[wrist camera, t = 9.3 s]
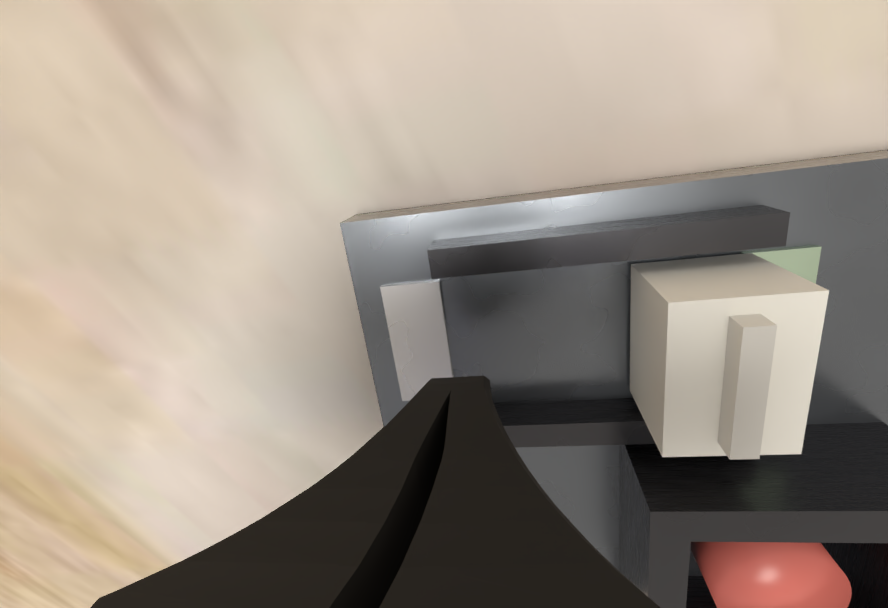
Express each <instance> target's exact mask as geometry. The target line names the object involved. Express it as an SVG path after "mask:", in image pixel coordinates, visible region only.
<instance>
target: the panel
mask: <svg viewBox="0 0 888 608" xmlns="http://www.w3.org/2000/svg"><path fill="white" fill-rule="evenodd" d="M340 226H341V231H342V235H343V240H344V244H345V249H346V254H347V258H348V263H349V268H350V272H351V277H352V281H353V286H354V291H355V295H356V300H357V305H358V309H359V314H360V318H361V323H362V328H363V332H364V337H365V342H366V346H367V351H368V355H369V360H370V365H371V369H372V374H373V379H374V383H375V388H376V392H377V397H378V402H379V406H380V411H381V416H382V420H383V425H384V427H385V426H386V425H387V424H388V423H389V422H390V421H391V420H392V419H393V418H394V417H395V416H396V415H397V414H398V413H399V412H400V410H401V409H402V408H403V407H404V406H405V405H406V404H407V403H408V402H409V401H410V400H411V399H412V398H413V397H414V396H415V395H416V394H417V393H418V392H419V391H420V389H421V388H422V387H423V386H424V385H425V384H426V383H427V382H428V381H429V380H430V379H431V378H448V377H468V376H485V377H487V378H488V379H489V380H490V386H491V396H492V400H493V403H494V406H495V409H496V411H497V414H498V416H499V418H500V420H501V422H502V424H503V427H504V429H505V431H506V433H507V435H508V436H509V438H510V440H511V442H512V444H513V445H514V447H515V449H516V450H517V452H518V454H519V455H520V457H521V459H522V460H523V462H524V463H525V465H526V466H527V468H528V469H529V471H530V472H531V474H532V475H533V476H534V478H535V479H536V480H537V482H538V483H539V485H540V486H541V487H542V489H543V490H544V491H545V492H546V494H547V495H548V496H549V497H550V499H551V500H552V501H553V502H554V504H555V505H556V506H557V507H558V508H559V510H560V511H561V512H562V513H563V514H564V515H565V516H566V517H567V518H568V519H569V520H570V522H571V523H572V524H573V525H574V526H575V527H576V528H577V529H578V530H579V531H580V532H581V534H582V535H583V536H584V537H585V538H586V539H587V540H588V541H589V542H590V543H591V544H592V545H593V546H594V547H595V548H596V549H597V550H598V551H599V552H600V553H601V554H602V555H603V556H604V557H605V558H606V559H607V560H608V561H609V562H610V563H611V564H612V565H613V566H614V567H615V568H616V569H617V570H618V571H619V572H621V573H622V574H623V575H624V576H625V577H626V578H627V579H628V580H630V581H631V582H632V583H633V584H634V585H635V586H636V587H637V588H639V589H640V590H641V591H642V592H643V593H644V594H645V595H646V596H648V597H649V598H650V599H651V600H652V601H654V602H655V603H656V604H657V605H658V606H659V607H661V608H717V607H716V604H715V602H714V600H713V598H712V596H711V593H710V591H709V589H708V587H707V584H706V582H705V580H704V578H703V575H702V573H701V571H700V569H699V567H698V564H697V562H696V560H695V558H694V555H693V553H692V551H691V549H690V546H691V542H791V543H821V544H822V545H823V546H824V548H825V549H826V550H827V551H828V553H829V554H830V555H831V557H832V558H833V559H834V561H835V562H836V563H837V564H838V566H839V567H840V568H841V570H842V571H843V572H844V573H845V575H846V576H847V578H848V580H849V582H850V585H851V591H852V595H851V600H850V603H849V605H848V607H847V608H888V150H883V151H875V152H867V153H859V154H850V155H842V156H834V157H826V158H817V159H809V160H801V161H793V162H785V163H776V164H768V165H760V166H752V167H743V168H735V169H727V170H719V171H711V172H702V173H694V174H686V175H678V176H669V177H661V178H653V179H645V180H636V181H628V182H620V183H612V184H604V185H595V186H587V187H579V188H571V189H562V190H554V191H546V192H538V193H530V194H521V195H513V196H505V197H497V198H488V199H480V200H472V201H464V202H455V203H447V204H439V205H431V206H423V207H414V208H406V209H398V210H390V211H381V212H373V213H365V214H357V215H354V216H352V217H350V218H349V219H347V220H345V221H343V222H341V223H340ZM746 253H752V254H754V255H756V256H759V257H761V258H763V259H765V260H767V261H769V262H771V263H773V264H775V265H777V266H779V267H781V268H784V269H786V270H788V271H790V272H792V273H794V274H796V275H798V276H800V277H802V278H804V279H806V280H809V281H811V282H813V283H815V284H817V285H819V286H821V287H823V288H825V289H827V290H829V295H828V300H827V306H826V312H825V318H824V324H823V330H822V336H821V341H820V347H819V353H818V359H817V365H816V371H815V376H814V382H813V388H812V394H811V400H810V406H809V412H808V417H807V423H806V429H805V435H804V441H803V447H802V452H801V454H787V455H760V459H735V460H730V459H729V458H728V457H727V456H695V457H662V456H661V454H660V452H659V450H658V448H657V445H656V443H655V441H654V439H653V437H652V435H651V433H650V431H649V429H648V427H647V425H646V423H645V421H644V419H643V417H642V415H641V413H640V411H639V409H638V406H637V404H636V402H635V400H634V398H633V396H632V394H631V392H630V302H631V264H637V263H648V262H659V261H670V260H681V259H692V258H703V257H714V256H725V255H735V254H746Z"/></svg>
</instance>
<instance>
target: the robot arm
mask: <svg viewBox="0 0 888 608" xmlns="http://www.w3.org/2000/svg"><path fill="white" fill-rule="evenodd" d="M91 608H661V607H659V606H658V605H657V604H656V603H655V602H654V601H652V600H651V599H650V598H649V597H648V596H646V595H645V594H644V593H643V592H642V591H641V590H640V589H639V588H637V587H636V586H635V585H634V584H633V583H632V582H631V581H630V580H628V579H627V578H626V577H625V576H624V575H623V574H622V573H621V572H619V571H618V570H617V569H616V568H615V567H614V566H613V565H612V564H611V563H610V562H609V561H608V560H607V559H606V558H605V557H604V556H603V555H602V554H601V553H600V552H599V551H598V550H597V549H596V548H595V547H594V546H593V545H592V544H591V543H590V542H589V541H588V540H587V539H586V538H585V537H584V536H583V535H582V534H581V532H580V531H579V530H578V529H577V528H576V527H575V526H574V525H573V524H572V523H571V522H570V520H569V519H568V518H567V517H566V516H565V515H564V514H563V513H562V512H561V511H560V510H559V508H558V507H557V506H556V505H555V504H554V502H553V501H552V500H551V499H550V497H549V496H548V495H547V494H546V492H545V491H544V490H543V489H542V487H541V486H540V485H539V483H538V482H537V480H536V479H535V478H534V476H533V475H532V474H531V472H530V471H529V469H528V468H527V466H526V465H525V463H524V462H523V460H522V459H521V457H520V455H519V454H518V452H517V450H516V449H515V447H514V445H513V444H512V442H511V440H510V438H509V436H508V435H507V433H506V431H505V429H504V427H503V424H502V422H501V420H500V418H499V416H498V414H497V411H496V409H495V406H494V403H493V400H492V396H491V386H490V380H489V379H488V378H487V377H485V376H468V377H448V378H431V379H430V380H429V381H428V382H427V383H426V384H425V385H424V386H423V387H422V388H421V389H420V391H419V392H418V393H417V394H416V395H415V396H414V397H413V398H412V399H411V400H410V401H409V402H408V403H407V404H406V405H405V406H404V407H403V408H402V409H401V410H400V412H399V413H398V414H397V415H396V416H395V417H394V418H393V419H392V420H391V421H390V422H389V423H388V424H387V425H386V426H385V427H383V428H382V429H381V430H380V431H379V432H378V433H377V434H376V435H375V436H374V437H372V438H371V439H370V440H369V441H368V442H367V443H366V444H365V445H364V446H362V447H361V448H360V449H359V450H358V451H357V452H356V453H355V454H353V455H352V456H351V457H350V458H349V459H347V460H346V461H345V462H344V463H342V464H341V465H340V466H339V467H337V468H336V469H335V470H333V471H332V472H331V473H329V474H328V475H327V476H325V477H324V478H323V479H321V480H320V481H319V482H317V483H316V484H314V485H313V486H311V487H310V488H309V489H307V490H306V491H304V492H302V493H301V494H299V495H298V496H296V497H295V498H293V499H291V500H290V501H288V502H287V503H285V504H284V505H282V506H281V507H279V508H277V509H276V510H274V511H273V512H271V513H270V514H268V515H266V516H265V517H263V518H262V519H260V520H258V521H256V522H255V523H253V524H251V525H249V526H248V527H246V528H244V529H242V530H240V531H239V532H237V533H235V534H233V535H232V536H230V537H228V538H226V539H224V540H222V541H220V542H218V543H216V544H214V545H213V546H211V547H209V548H207V549H205V550H203V551H201V552H199V553H197V554H195V555H193V556H191V557H189V558H187V559H185V560H183V561H181V562H179V563H176V564H174V565H172V566H170V567H168V568H166V569H163V570H161V571H159V572H157V573H155V574H152V575H150V576H148V577H146V578H144V579H141V580H139V581H137V582H135V583H133V584H130V585H128V586H126V587H124V588H122V589H120V590H117V591H115V592H113V593H110V594H108V595H105V596H103V597H101V598H99V599H98V600H97V601H96V602H95V603H94V604H93V606H92V607H91Z"/></svg>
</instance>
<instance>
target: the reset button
mask: <svg viewBox="0 0 888 608" xmlns="http://www.w3.org/2000/svg"><path fill="white" fill-rule="evenodd" d="M690 549H691V551H692V553H693V555H694V558H695V560H696V562H697V564H698V567H699V569H700V571H701V573H702V575H703V578H704V580H705V582H706V584H707V587H708V589H709V591H710V593H711V596H712V598H713V600H714V602H715V604H716V607H717V608H847V607H848V605H849V603H850V600H851V595H852V591H851V585H850V582H849V580H848V578H847V576H846V575H845V573H844V572H843V571H842V570H841V568H840V567H839V566H838V564H837V563H836V562H835V561H834V559H833V558H832V557H831V555H830V554H829V553H828V551H827V550H826V549H825V548H824V546H823V545H822V544H821V543H791V542H691V546H690Z"/></svg>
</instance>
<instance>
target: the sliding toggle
mask: <svg viewBox="0 0 888 608" xmlns="http://www.w3.org/2000/svg"><path fill="white" fill-rule="evenodd" d="M828 295H829V290H827V289H825V288H823V287H821V286H819V285H817V284H815V283H813V282H811V281H809V280H806V279H804V278H802V277H800V276H798V275H796V274H794V273H792V272H790V271H788V270H786V269H784V268H781V267H779V266H777V265H775V264H773V263H771V262H769V261H767V260H765V259H763V258H761V257H759V256H756V255H754V254H752V253H746V254H735V255H725V256H714V257H703V258H692V259H681V260H670V261H659V262H648V263H637V264H631V302H630V392H631V394H632V396H633V398H634V400H635V402H636V404H637V406H638V409H639V411H640V413H641V415H642V417H643V419H644V421H645V423H646V425H647V427H648V429H649V431H650V433H651V435H652V437H653V439H654V441H655V443H656V445H657V448H658V450H659V452H660V454H661V456H662V457H695V456H727V457H728V458H729V459H730V460H735V459H760V455H787V454H801V452H802V447H803V441H804V435H805V429H806V423H807V417H808V412H809V406H810V400H811V394H812V388H813V382H814V376H815V371H816V365H817V359H818V353H819V347H820V341H821V336H822V330H823V324H824V318H825V312H826V306H827V300H828Z"/></svg>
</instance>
